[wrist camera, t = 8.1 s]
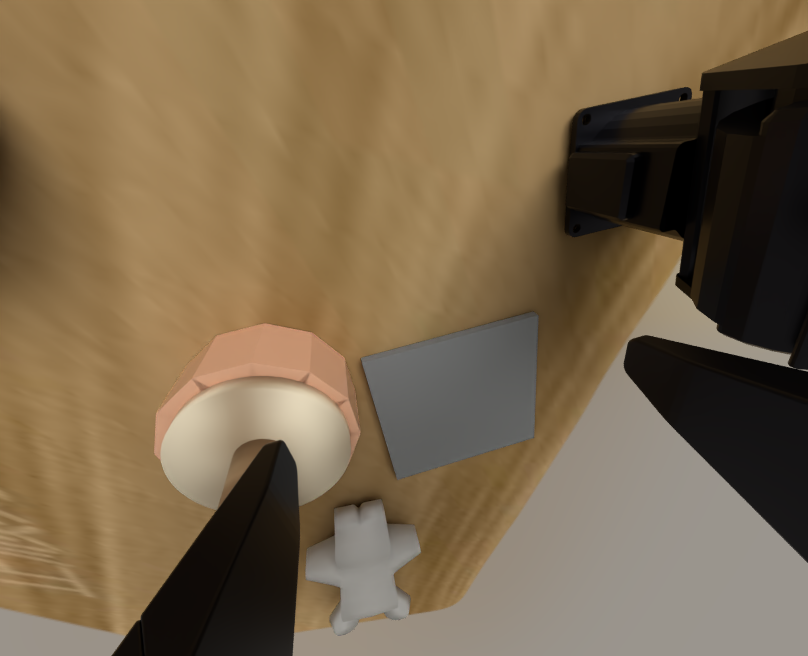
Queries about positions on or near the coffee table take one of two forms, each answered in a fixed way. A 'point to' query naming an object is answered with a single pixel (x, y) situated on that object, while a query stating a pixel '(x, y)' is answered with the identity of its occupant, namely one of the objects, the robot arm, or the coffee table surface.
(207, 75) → the coffee table surface
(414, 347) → the mat
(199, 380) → the bowl
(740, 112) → the robot arm
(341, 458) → the lid
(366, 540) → the grey toy figurine
